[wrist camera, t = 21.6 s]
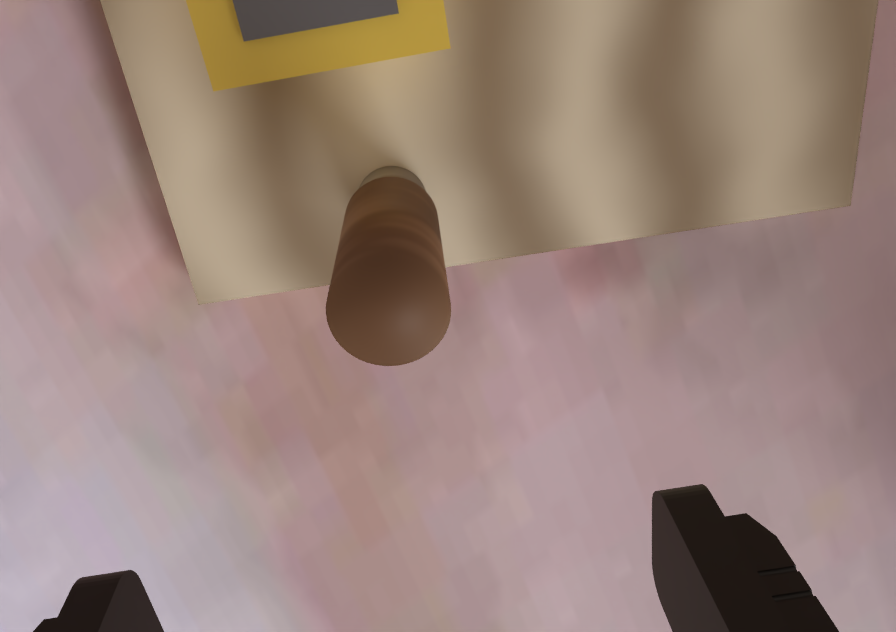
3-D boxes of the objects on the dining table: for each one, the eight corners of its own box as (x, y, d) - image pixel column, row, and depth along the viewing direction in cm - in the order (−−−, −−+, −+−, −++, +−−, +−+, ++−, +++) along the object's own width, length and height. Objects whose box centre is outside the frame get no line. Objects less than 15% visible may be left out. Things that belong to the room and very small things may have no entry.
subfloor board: (896, -410, 22) (937, -438, 20) (823, 209, 31) (848, 224, 29) (28, -289, 21) (0, -307, 20) (213, 302, 31) (204, 322, 29)
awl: (429, 152, 27) (442, 245, 18) (440, 234, 28) (457, 357, 20) (342, 164, 27) (314, 263, 18) (357, 245, 28) (338, 372, 20)
